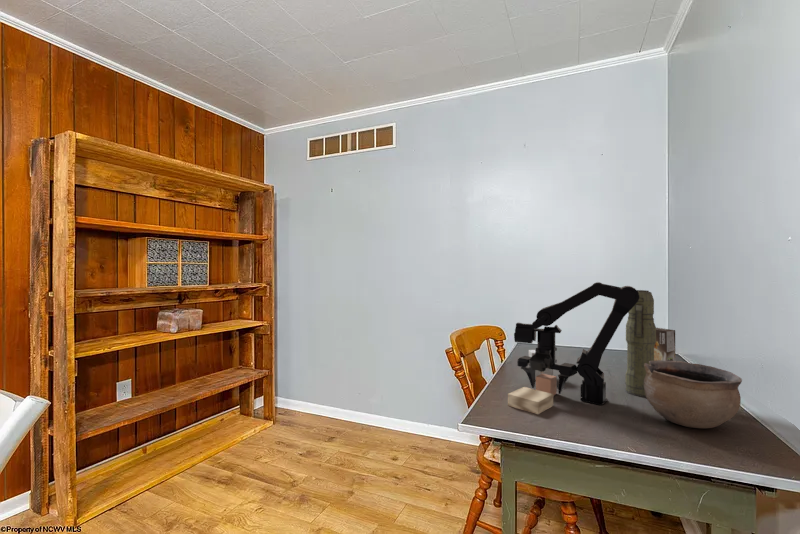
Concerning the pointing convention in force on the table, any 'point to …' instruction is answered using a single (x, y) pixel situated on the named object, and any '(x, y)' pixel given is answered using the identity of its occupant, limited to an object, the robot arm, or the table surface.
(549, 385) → the terracotta block
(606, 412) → the table surface
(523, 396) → the birch base block
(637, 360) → the thermos
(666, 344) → the coffee box
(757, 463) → the table surface
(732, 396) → the ceramic bowl
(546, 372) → the small box
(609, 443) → the table surface
